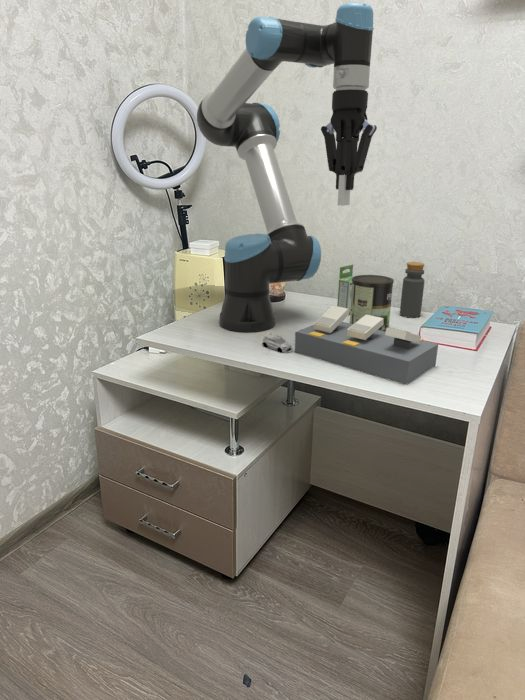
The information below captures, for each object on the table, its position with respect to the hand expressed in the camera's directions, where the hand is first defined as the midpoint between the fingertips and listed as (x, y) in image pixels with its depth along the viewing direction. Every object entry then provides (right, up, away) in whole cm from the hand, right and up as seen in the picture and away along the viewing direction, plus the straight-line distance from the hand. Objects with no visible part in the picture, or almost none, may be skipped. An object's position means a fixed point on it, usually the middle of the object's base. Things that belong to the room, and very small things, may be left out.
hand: (343, 204), depth 120 cm
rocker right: (+11, -30, -9) cm, 33 cm away
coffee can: (+9, -29, +17) cm, 35 cm away
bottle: (+24, -23, +32) cm, 47 cm away
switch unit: (+4, -35, -1) cm, 35 cm away
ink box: (+7, -22, +35) cm, 42 cm away
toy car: (-15, -33, +5) cm, 37 cm away
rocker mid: (+4, -28, -4) cm, 29 cm away
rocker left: (-3, -26, +2) cm, 26 cm away
